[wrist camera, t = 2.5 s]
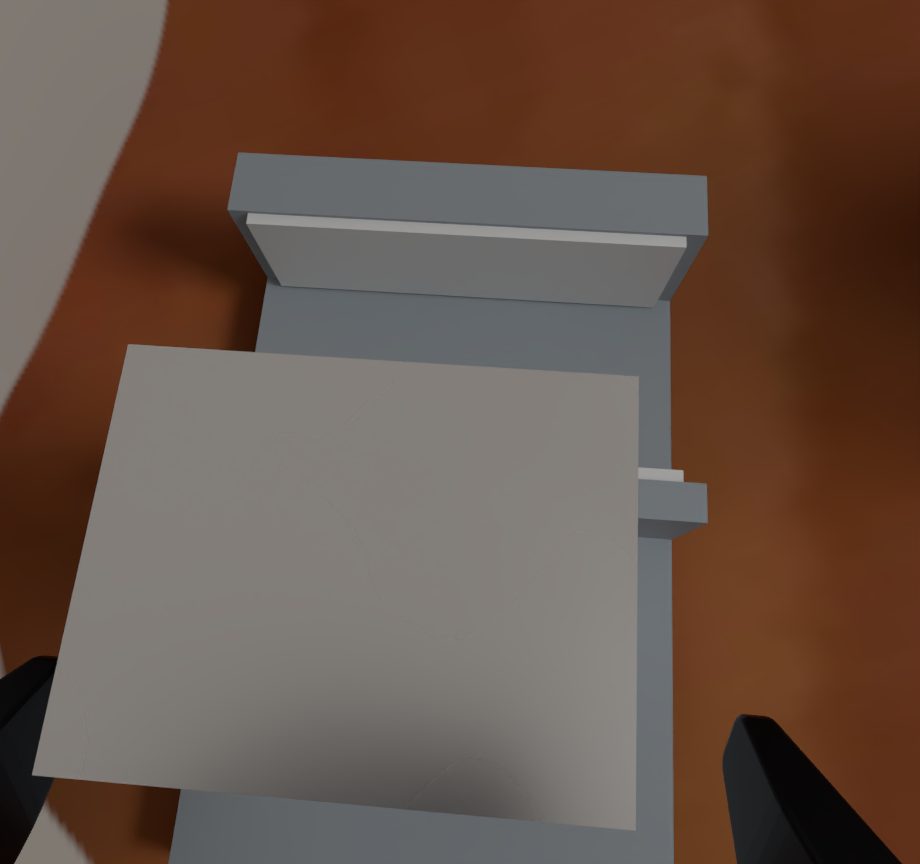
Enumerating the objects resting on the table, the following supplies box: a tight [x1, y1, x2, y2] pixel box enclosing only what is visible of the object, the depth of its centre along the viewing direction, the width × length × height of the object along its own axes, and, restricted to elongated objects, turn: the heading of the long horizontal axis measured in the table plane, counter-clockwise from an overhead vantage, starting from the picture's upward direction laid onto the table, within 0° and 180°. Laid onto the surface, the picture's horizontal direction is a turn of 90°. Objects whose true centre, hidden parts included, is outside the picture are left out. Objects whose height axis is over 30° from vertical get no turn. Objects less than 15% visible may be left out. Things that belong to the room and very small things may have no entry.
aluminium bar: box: [32, 344, 639, 831], centre depth 12 cm, size 4×4×13 cm
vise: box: [168, 153, 708, 864], centre depth 18 cm, size 18×12×4 cm, turn 176°
